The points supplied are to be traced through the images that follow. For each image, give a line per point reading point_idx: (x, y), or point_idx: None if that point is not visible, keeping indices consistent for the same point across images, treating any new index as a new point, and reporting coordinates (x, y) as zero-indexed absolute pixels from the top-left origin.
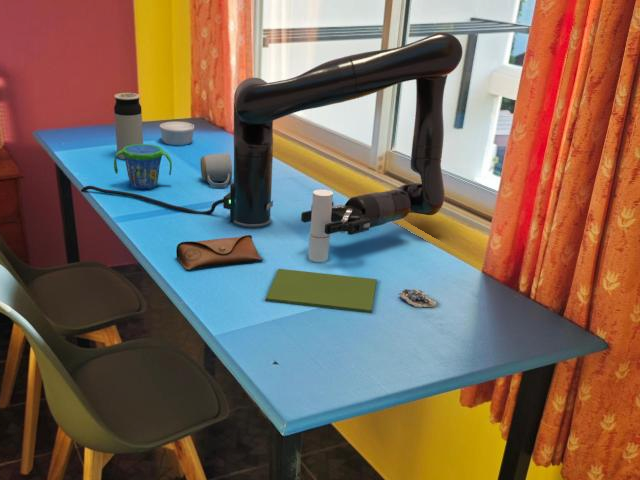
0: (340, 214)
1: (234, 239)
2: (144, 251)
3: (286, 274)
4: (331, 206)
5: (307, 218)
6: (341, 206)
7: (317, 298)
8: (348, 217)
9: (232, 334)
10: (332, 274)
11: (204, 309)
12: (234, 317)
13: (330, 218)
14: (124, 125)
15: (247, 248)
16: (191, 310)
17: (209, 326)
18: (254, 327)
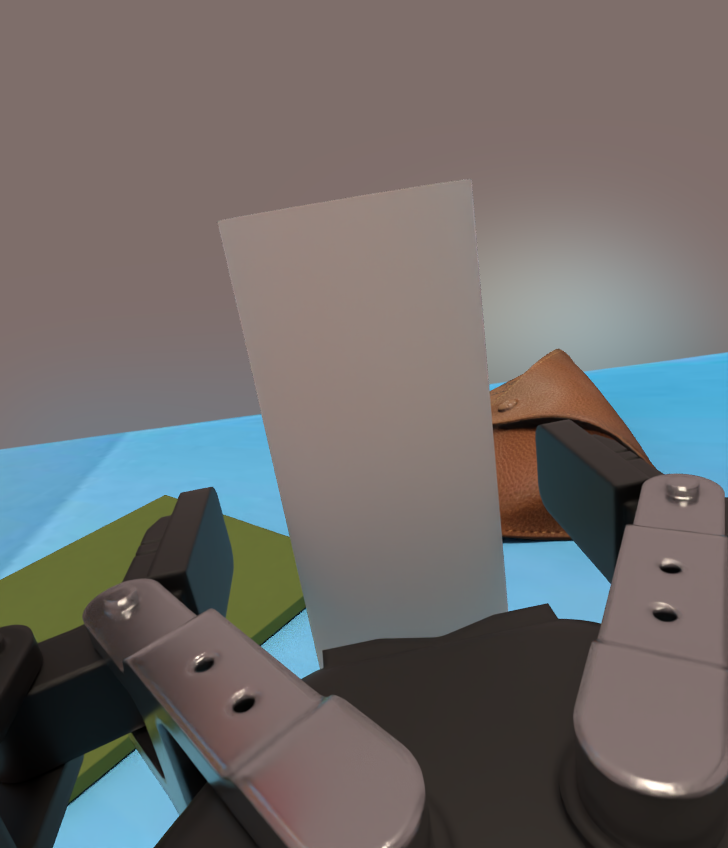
0: (376, 659)
1: (563, 410)
2: (637, 367)
3: (275, 567)
4: (266, 387)
5: (559, 495)
6: (611, 686)
7: (5, 601)
8: (123, 661)
9: (99, 448)
10: (104, 754)
11: (237, 426)
12: (156, 455)
13: (297, 526)
14: None
15: (525, 462)
16: (251, 415)
17: (164, 429)
18: (80, 473)
